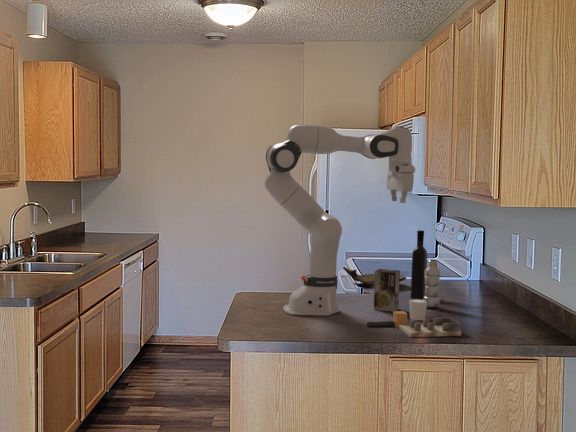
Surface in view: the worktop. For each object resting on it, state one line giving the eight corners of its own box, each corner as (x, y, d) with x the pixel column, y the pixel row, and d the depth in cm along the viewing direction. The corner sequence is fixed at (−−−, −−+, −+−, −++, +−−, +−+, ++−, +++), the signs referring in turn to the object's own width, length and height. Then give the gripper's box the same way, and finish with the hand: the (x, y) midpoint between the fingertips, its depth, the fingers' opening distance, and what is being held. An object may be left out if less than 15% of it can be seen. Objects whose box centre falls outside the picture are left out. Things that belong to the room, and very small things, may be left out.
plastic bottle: (439, 309, 277) (441, 261, 275) (422, 308, 278) (424, 260, 277) (439, 306, 283) (441, 259, 282) (422, 305, 285) (424, 258, 283)
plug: (368, 328, 245) (368, 314, 245) (364, 325, 249) (365, 312, 249) (406, 327, 248) (407, 313, 248) (402, 324, 252) (403, 311, 252)
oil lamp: (386, 293, 309) (387, 276, 308) (336, 283, 330) (337, 267, 329) (414, 287, 325) (415, 271, 324) (365, 278, 346) (365, 263, 345)
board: (410, 337, 234) (410, 325, 234) (398, 329, 245) (399, 318, 245) (462, 335, 238) (462, 324, 238) (449, 327, 249) (449, 316, 249)
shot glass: (422, 321, 257) (423, 303, 256) (405, 318, 261) (406, 301, 260) (428, 318, 263) (429, 300, 262) (412, 315, 267) (412, 298, 266)
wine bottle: (413, 296, 304) (416, 229, 301) (426, 297, 301) (428, 230, 298) (409, 298, 299) (412, 230, 296) (422, 299, 296) (425, 231, 293)
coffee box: (399, 309, 277) (400, 270, 276) (394, 312, 271) (396, 272, 270) (377, 306, 281) (379, 268, 279) (373, 309, 275) (374, 270, 274)
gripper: (383, 166, 279) (382, 200, 280) (401, 167, 259) (400, 203, 260) (397, 167, 280) (396, 200, 282) (417, 168, 260) (415, 204, 262)
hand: (398, 202), depth 271 cm, fingers open, 8 cm apart
